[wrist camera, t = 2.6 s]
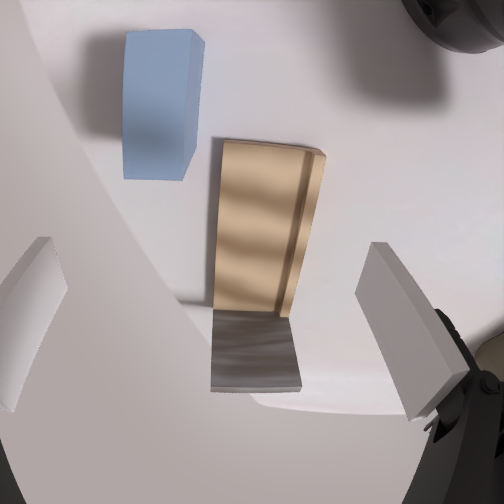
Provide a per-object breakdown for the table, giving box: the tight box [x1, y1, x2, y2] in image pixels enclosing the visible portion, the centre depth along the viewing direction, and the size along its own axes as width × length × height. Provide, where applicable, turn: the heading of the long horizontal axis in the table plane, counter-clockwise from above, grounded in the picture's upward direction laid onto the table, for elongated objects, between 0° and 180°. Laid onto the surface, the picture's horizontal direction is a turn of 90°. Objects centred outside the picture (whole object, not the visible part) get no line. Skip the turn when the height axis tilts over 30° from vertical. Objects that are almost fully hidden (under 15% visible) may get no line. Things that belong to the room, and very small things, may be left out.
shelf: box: [211, 139, 326, 393], centre depth 31 cm, size 23×10×14 cm, turn 174°
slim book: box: [122, 29, 205, 181], centre depth 22 cm, size 11×4×10 cm, turn 174°
